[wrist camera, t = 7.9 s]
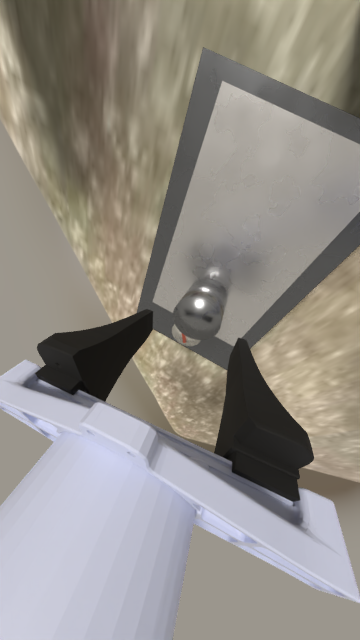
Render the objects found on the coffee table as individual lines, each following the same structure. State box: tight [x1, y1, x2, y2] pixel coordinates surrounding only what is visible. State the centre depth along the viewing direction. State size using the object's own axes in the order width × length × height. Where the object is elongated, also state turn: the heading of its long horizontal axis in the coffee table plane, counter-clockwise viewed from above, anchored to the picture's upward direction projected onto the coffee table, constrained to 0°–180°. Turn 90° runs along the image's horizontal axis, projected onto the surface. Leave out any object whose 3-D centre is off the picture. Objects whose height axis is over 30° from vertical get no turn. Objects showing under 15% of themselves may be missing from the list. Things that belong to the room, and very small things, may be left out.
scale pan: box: [153, 81, 360, 346], centre depth 16 cm, size 12×18×1 cm, turn 158°
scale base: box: [137, 47, 360, 370], centre depth 18 cm, size 16×24×2 cm, turn 158°
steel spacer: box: [173, 278, 227, 340], centre depth 16 cm, size 4×4×5 cm
